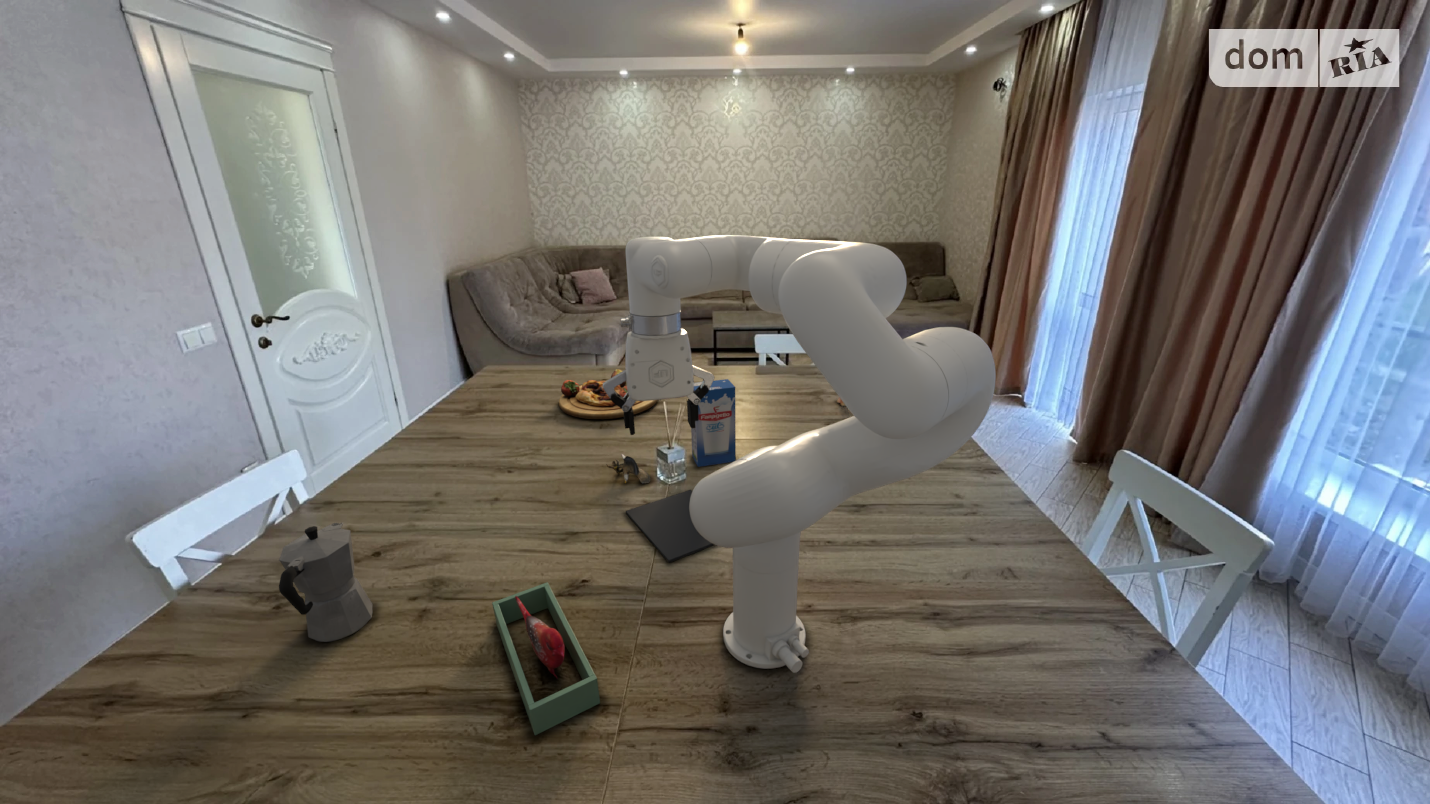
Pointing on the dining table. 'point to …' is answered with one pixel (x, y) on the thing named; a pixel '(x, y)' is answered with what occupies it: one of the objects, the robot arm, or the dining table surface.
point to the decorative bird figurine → (544, 640)
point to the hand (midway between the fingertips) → (662, 428)
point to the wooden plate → (595, 400)
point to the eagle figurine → (630, 469)
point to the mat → (670, 526)
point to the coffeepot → (325, 583)
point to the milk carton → (715, 425)
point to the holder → (586, 690)
